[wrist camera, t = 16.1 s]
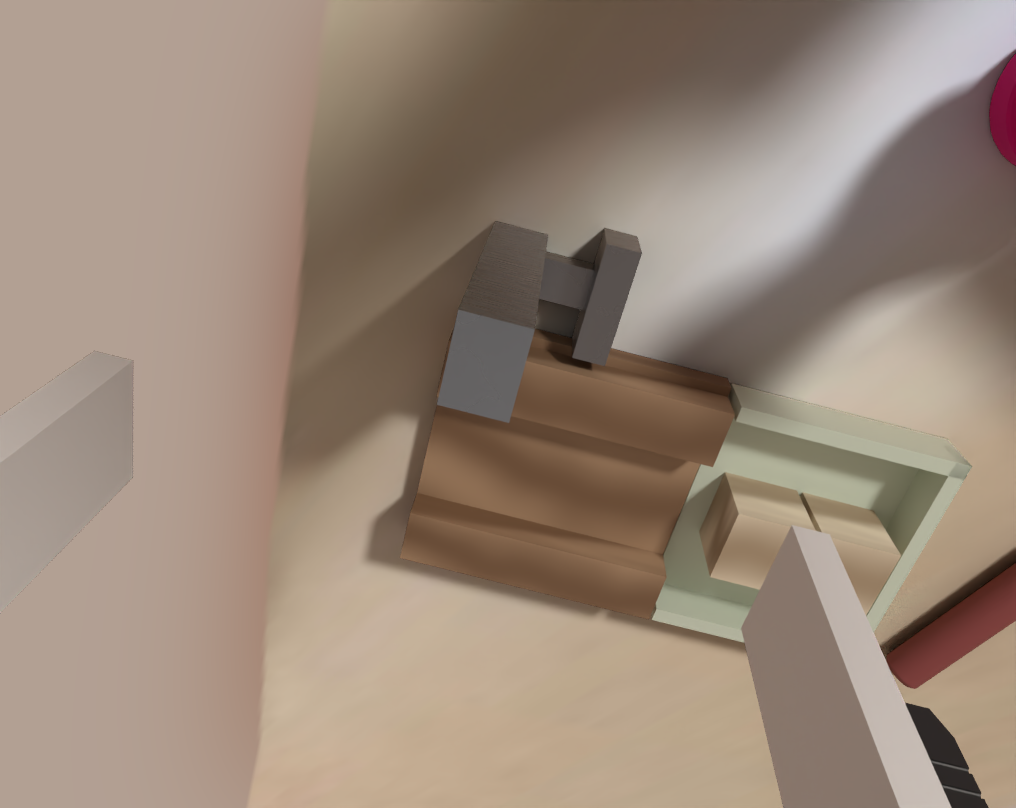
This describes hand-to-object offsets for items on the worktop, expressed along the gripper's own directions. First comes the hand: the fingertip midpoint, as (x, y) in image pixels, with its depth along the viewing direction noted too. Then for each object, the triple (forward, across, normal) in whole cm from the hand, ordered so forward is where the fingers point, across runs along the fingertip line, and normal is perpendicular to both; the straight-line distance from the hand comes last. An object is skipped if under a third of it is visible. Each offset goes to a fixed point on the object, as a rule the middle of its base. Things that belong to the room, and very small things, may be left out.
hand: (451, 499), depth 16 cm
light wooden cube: (+24, +20, -13) cm, 33 cm away
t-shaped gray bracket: (+24, +2, -3) cm, 25 cm away
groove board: (+24, +4, -13) cm, 28 cm away
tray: (+24, +18, -13) cm, 33 cm away
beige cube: (+24, +15, -13) cm, 31 cm away
